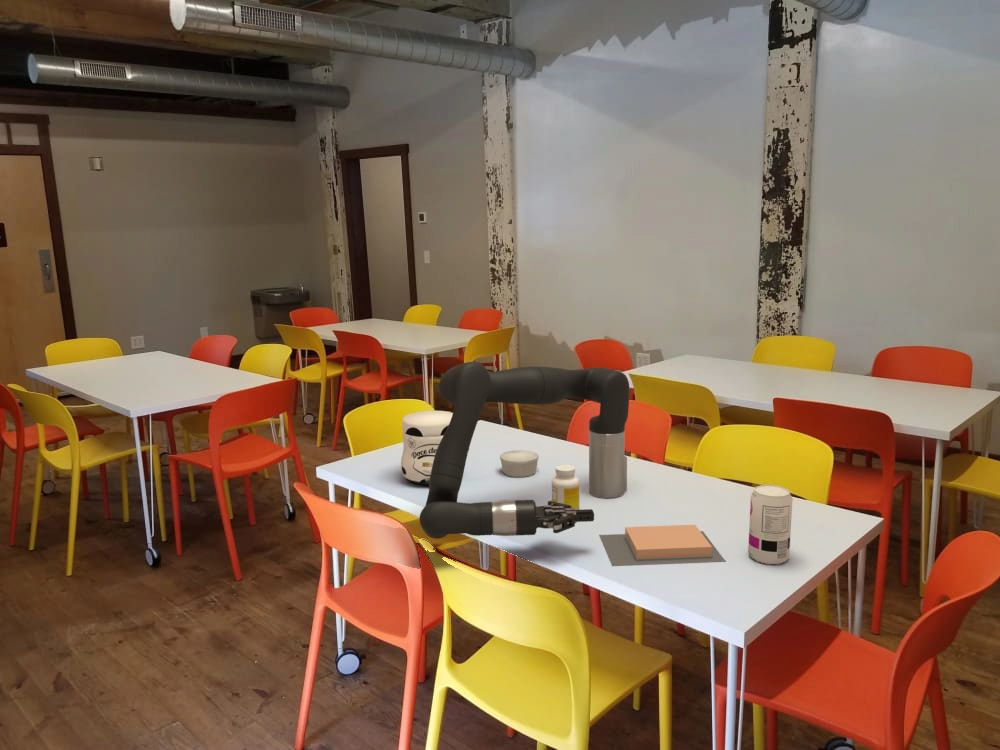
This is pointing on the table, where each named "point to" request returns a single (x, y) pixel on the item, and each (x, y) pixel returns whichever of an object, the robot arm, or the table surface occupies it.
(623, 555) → the mat
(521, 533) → the robot arm
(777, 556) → the supplement can
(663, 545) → the tile
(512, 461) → the ramekin
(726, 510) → the table surface
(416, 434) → the milk container
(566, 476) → the supplement bottle
